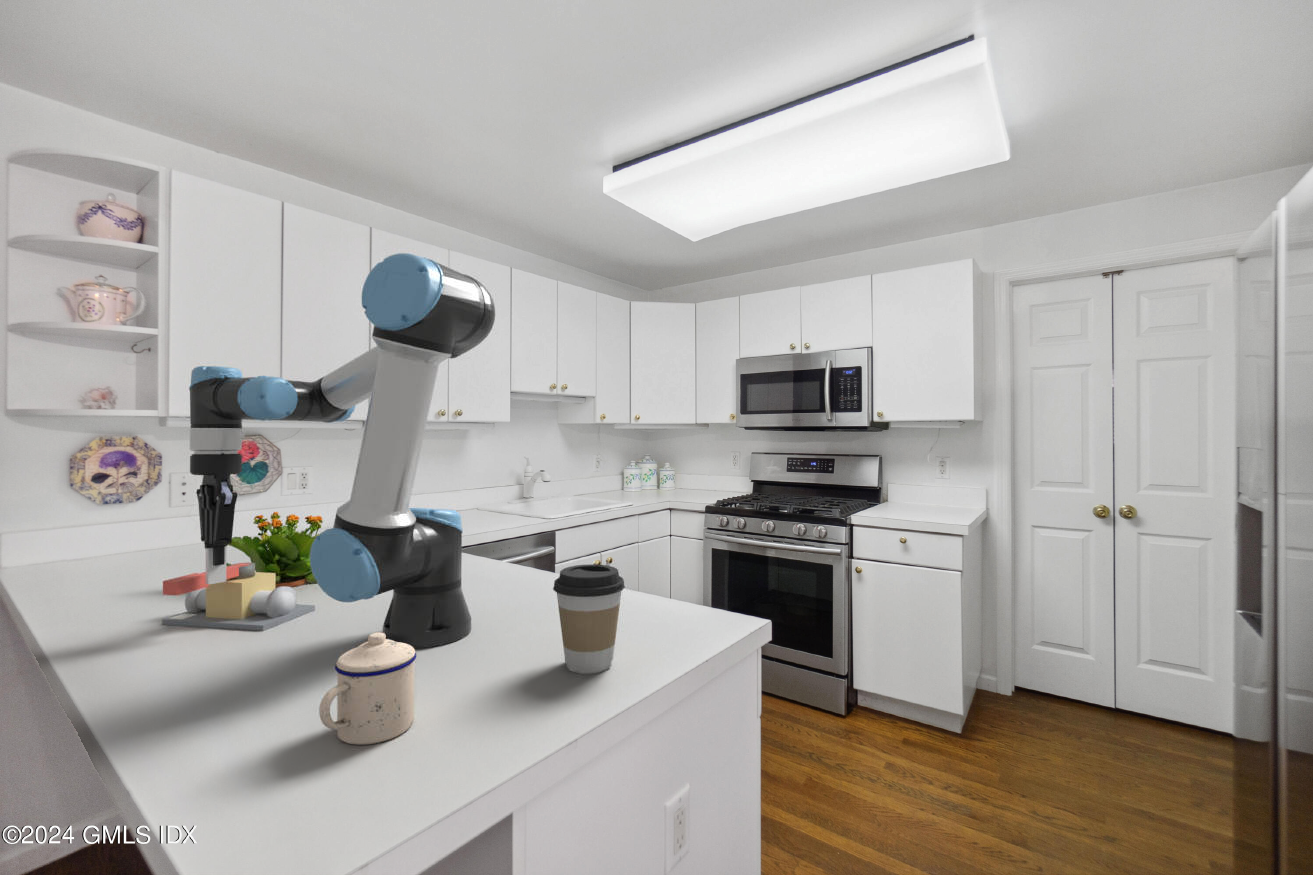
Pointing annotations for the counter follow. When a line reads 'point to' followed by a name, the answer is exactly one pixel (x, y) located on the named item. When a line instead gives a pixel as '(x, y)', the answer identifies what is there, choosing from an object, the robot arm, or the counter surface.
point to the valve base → (241, 605)
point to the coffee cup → (589, 615)
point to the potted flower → (281, 549)
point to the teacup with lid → (372, 692)
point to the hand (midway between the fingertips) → (216, 582)
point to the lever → (199, 579)
